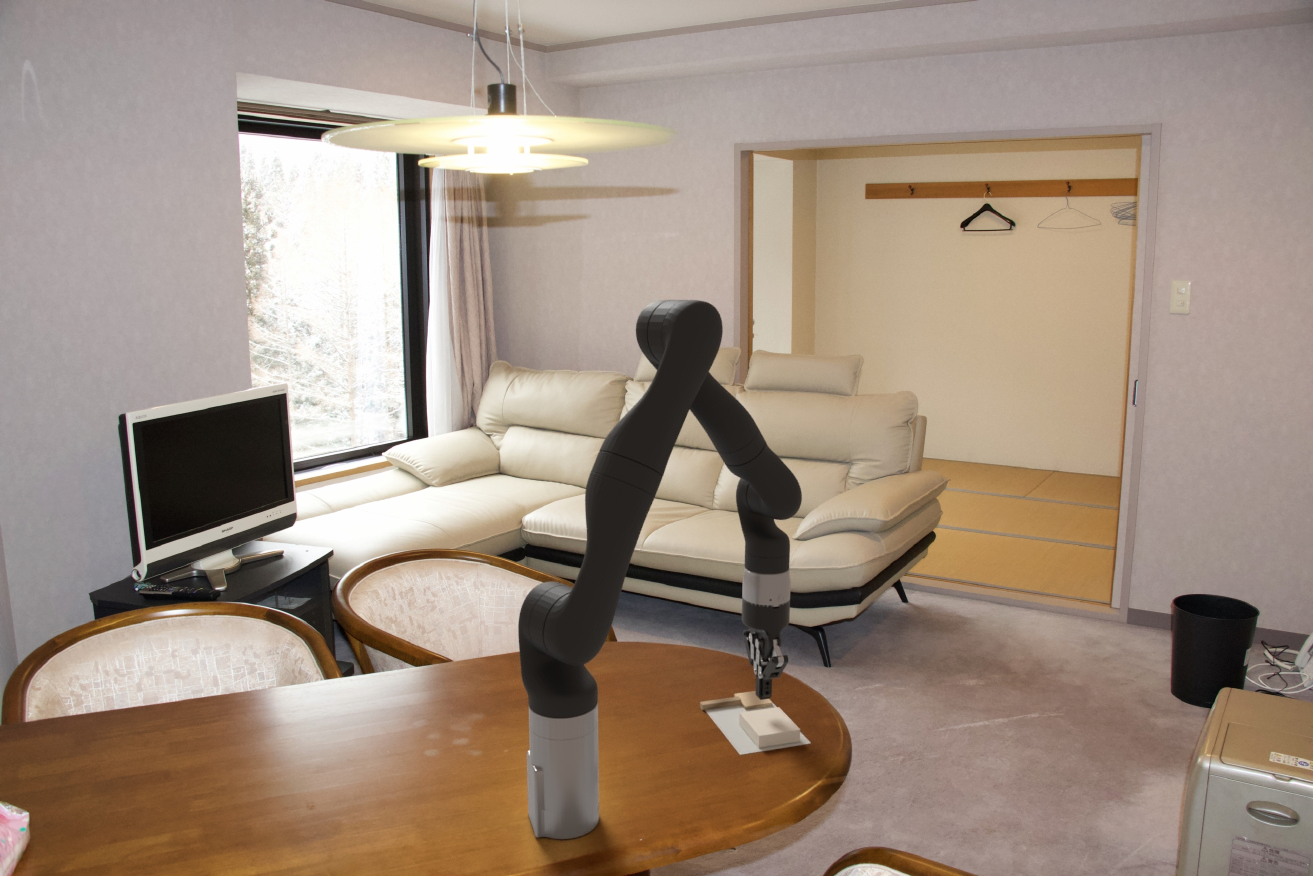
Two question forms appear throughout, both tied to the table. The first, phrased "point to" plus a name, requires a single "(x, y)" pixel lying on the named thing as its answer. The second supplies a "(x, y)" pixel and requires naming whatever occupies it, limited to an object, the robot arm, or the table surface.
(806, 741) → the mat
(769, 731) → the tile
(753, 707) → the turner
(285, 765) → the table surface
